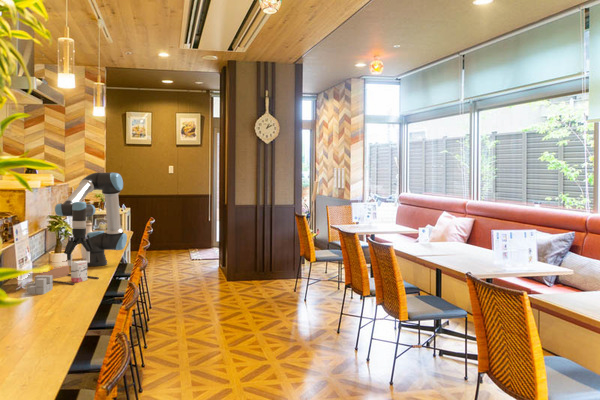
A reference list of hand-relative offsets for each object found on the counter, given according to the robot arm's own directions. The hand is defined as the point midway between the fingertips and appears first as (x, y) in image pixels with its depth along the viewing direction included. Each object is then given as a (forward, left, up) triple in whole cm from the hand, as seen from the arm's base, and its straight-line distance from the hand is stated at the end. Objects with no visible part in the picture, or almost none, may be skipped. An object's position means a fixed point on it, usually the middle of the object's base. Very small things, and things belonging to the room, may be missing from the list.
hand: (78, 263), depth 311 cm
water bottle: (-61, -53, -10) cm, 82 cm away
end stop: (0, -19, -10) cm, 22 cm away
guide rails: (0, -7, -10) cm, 12 cm away
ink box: (0, 0, -10) cm, 10 cm away
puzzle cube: (+31, +1, -11) cm, 32 cm away
